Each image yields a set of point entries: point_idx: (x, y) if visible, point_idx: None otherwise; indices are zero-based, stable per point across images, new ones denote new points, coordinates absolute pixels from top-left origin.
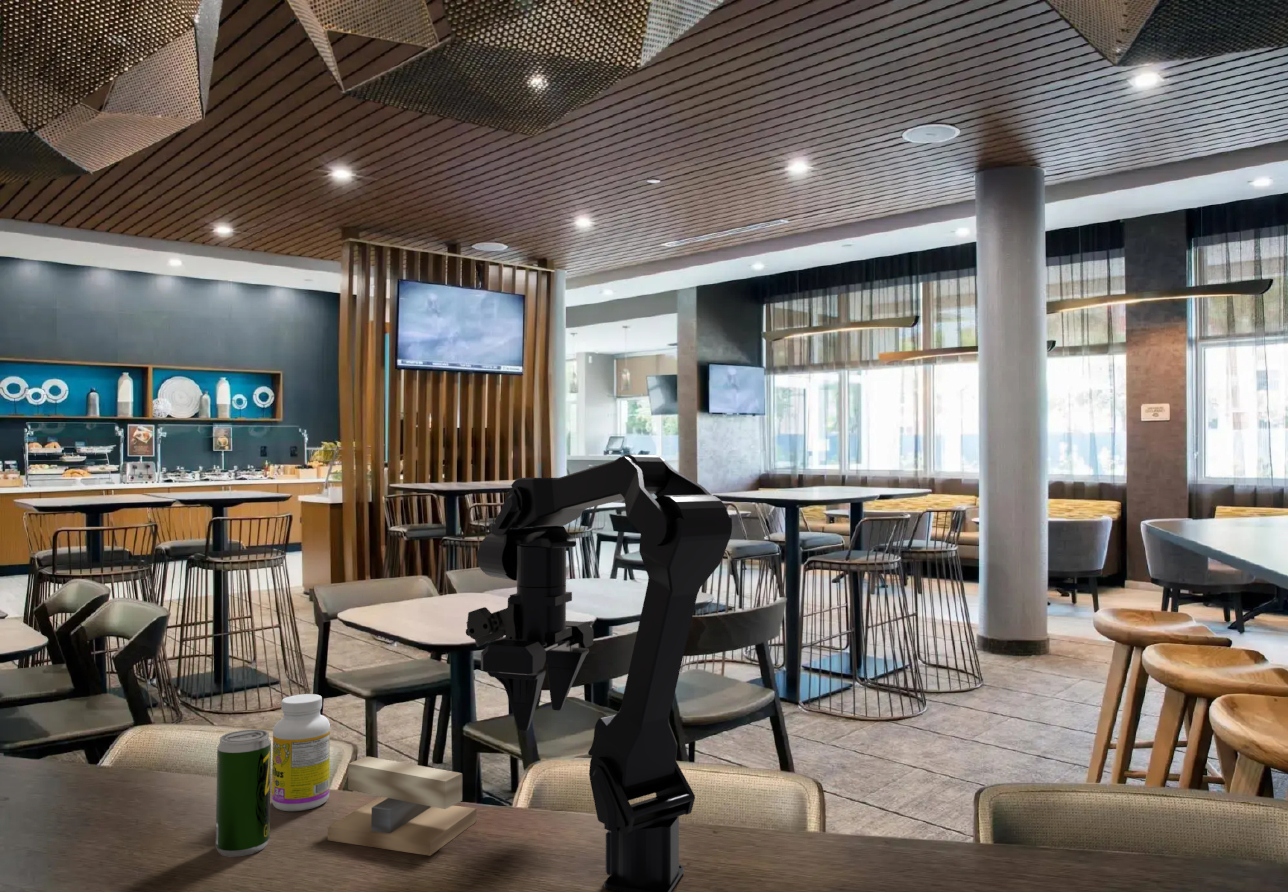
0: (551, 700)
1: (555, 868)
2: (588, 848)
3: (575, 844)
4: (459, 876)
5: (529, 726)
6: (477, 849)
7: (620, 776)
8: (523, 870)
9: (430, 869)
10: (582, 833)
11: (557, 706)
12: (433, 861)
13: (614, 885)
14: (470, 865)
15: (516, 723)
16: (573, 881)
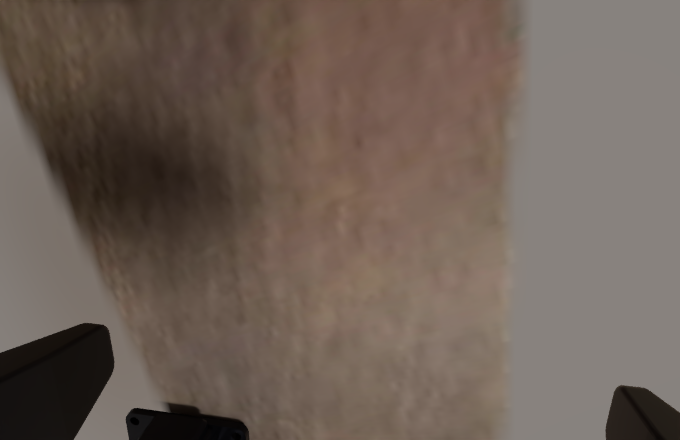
0: (640, 426)
1: (174, 301)
2: (292, 340)
3: (302, 308)
4: (50, 117)
5: (102, 389)
6: (187, 85)
7: None
8: (137, 242)
9: (44, 26)
10: (371, 306)
11: (618, 435)
12: (80, 6)
13: (128, 430)
14: (105, 114)
15: (48, 336)
16: (139, 349)
